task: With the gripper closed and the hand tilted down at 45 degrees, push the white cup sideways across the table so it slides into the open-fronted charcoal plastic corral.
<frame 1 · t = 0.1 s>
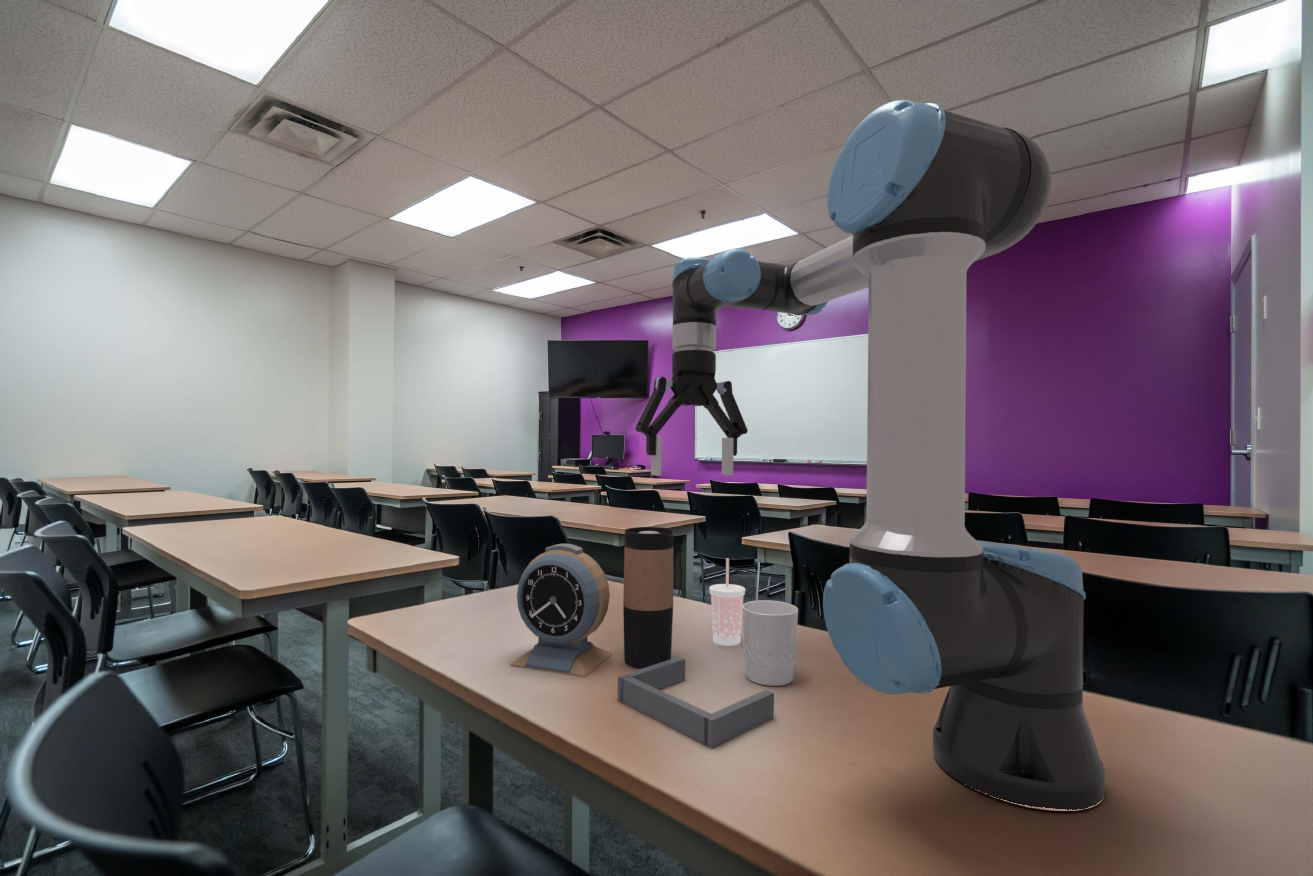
hand: (692, 475, 102), 28 cm above the table, fingers open, 13 cm apart
corral: (702, 704, 76), on the table
alarm clock: (562, 661, 91), on the table
travel mug: (647, 662, 91), on the table
white cup: (769, 678, 85), on the table
beverage cup: (726, 642, 101), on the table
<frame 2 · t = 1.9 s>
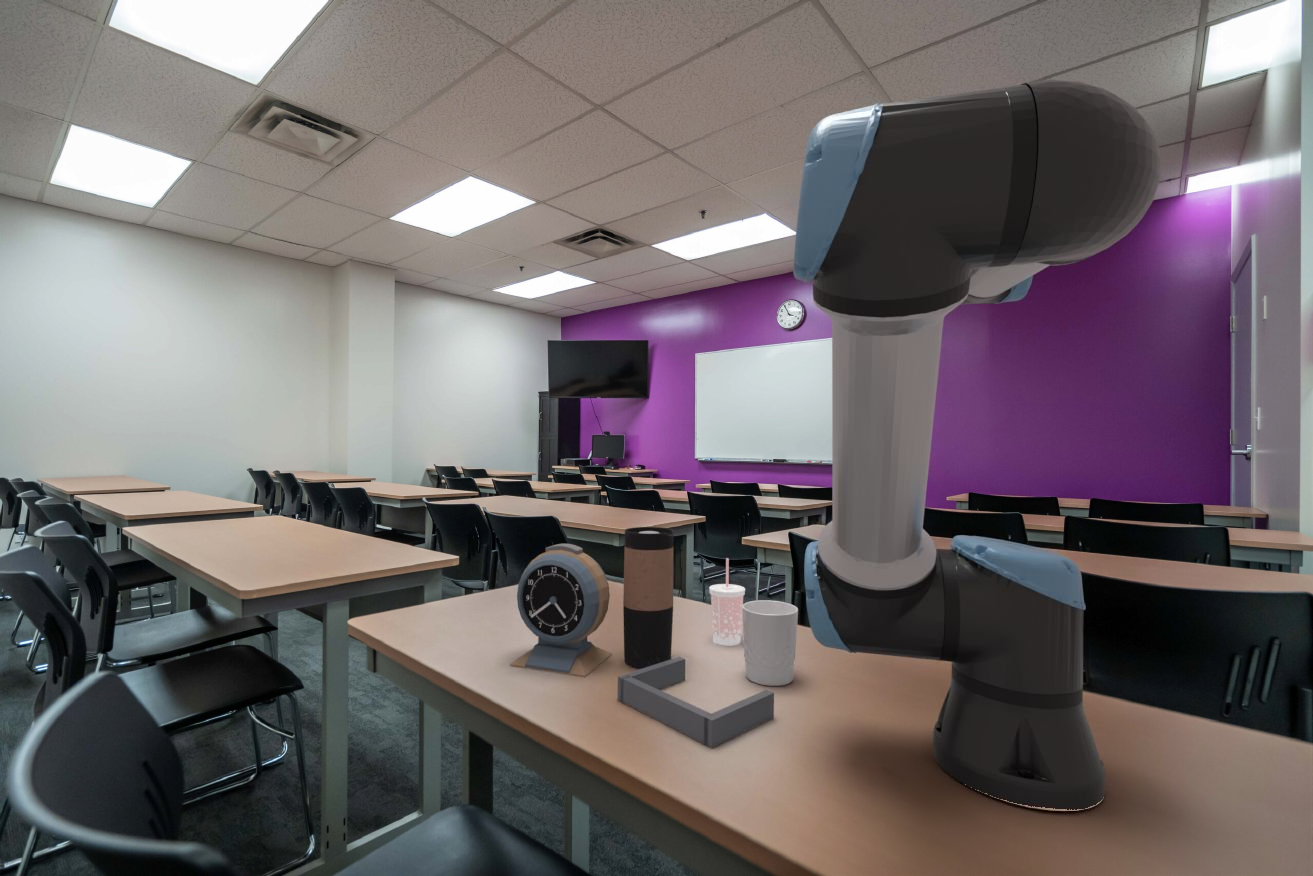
hand: (868, 515, 90), 23 cm above the table, fingers open, 6 cm apart
nothing on the table moved.
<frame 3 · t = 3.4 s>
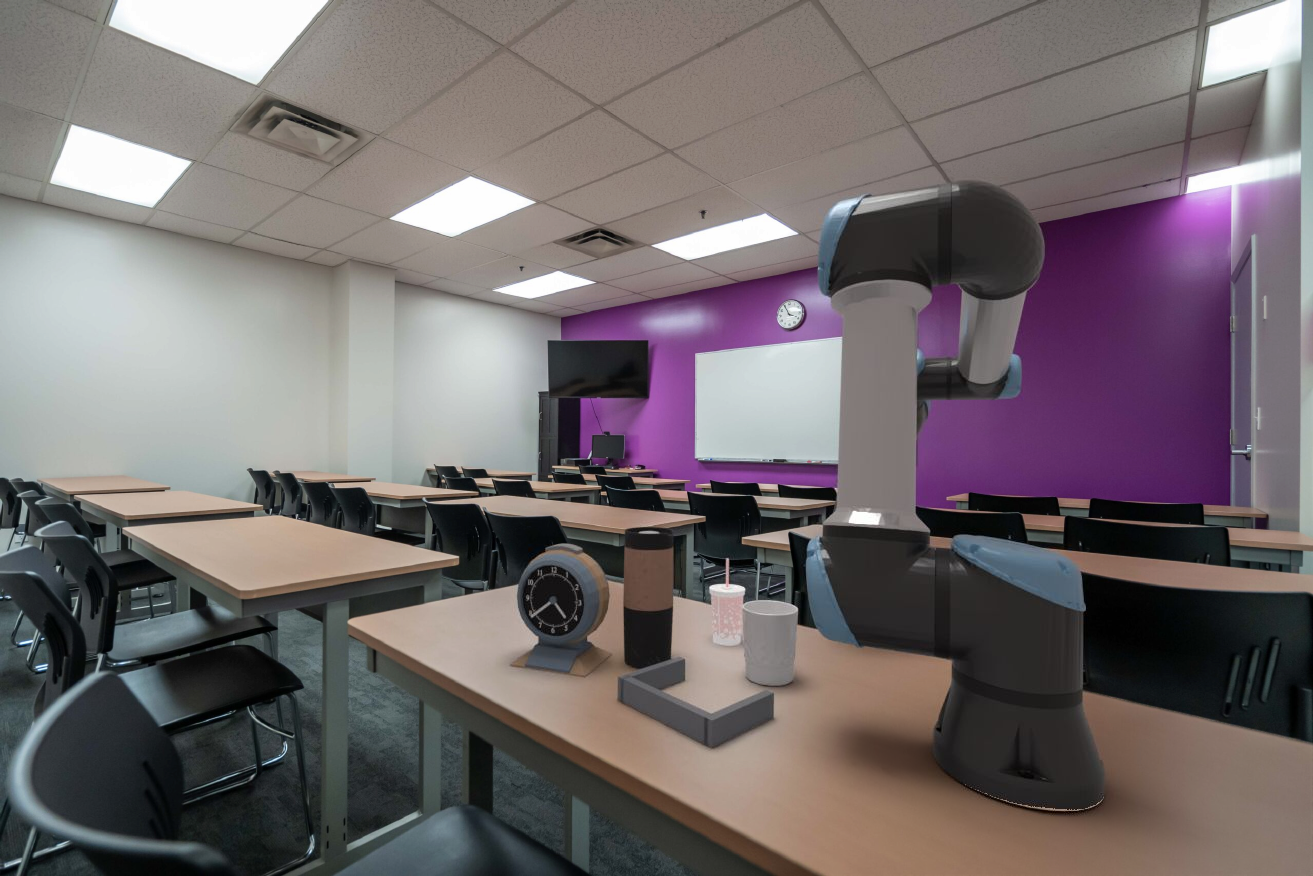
hand: (837, 559, 98), 15 cm above the table, fingers closed
nothing on the table moved.
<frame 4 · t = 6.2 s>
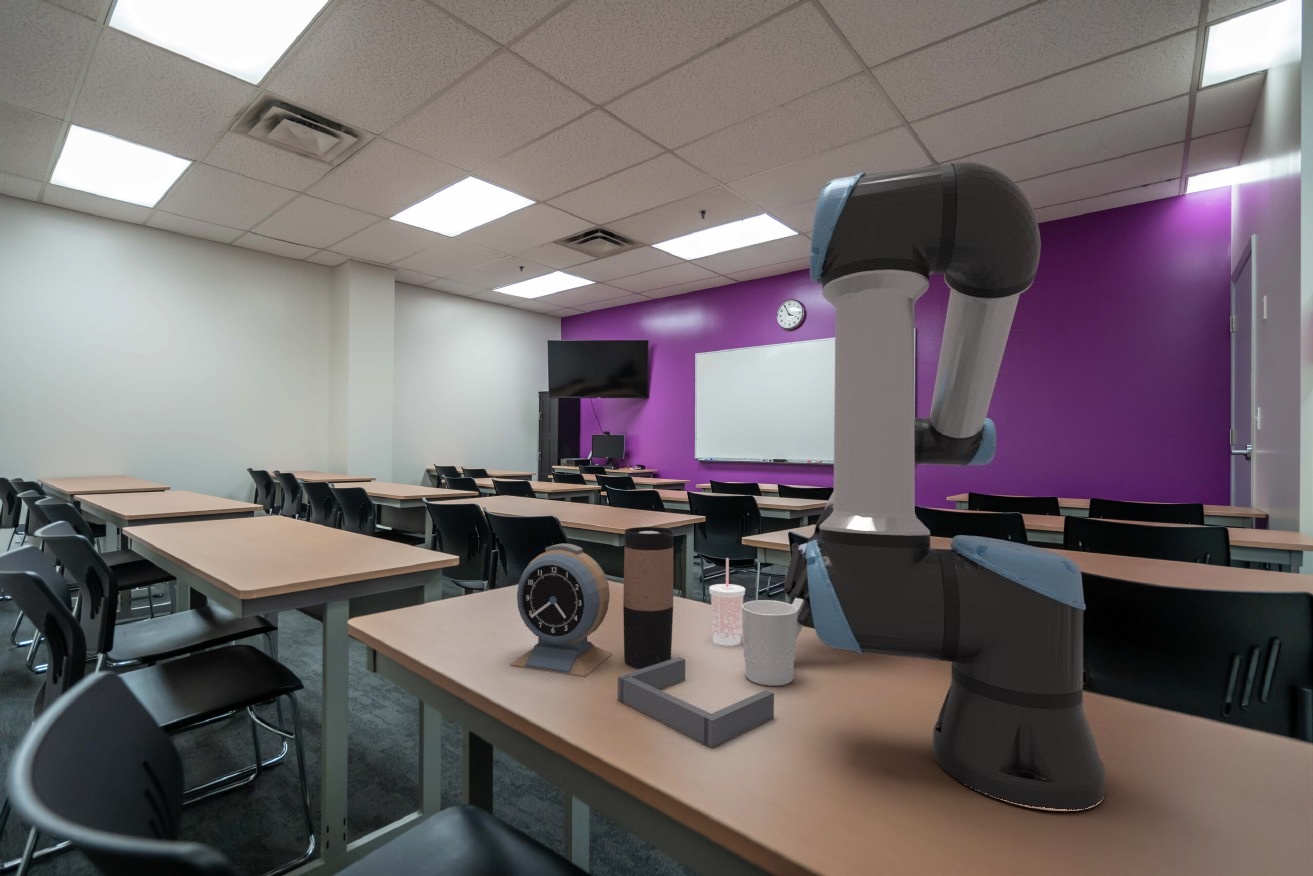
hand: (785, 639, 89), 4 cm above the table, fingers closed
white cup: (768, 678, 85), on the table, touching gripper
everything else where it was.
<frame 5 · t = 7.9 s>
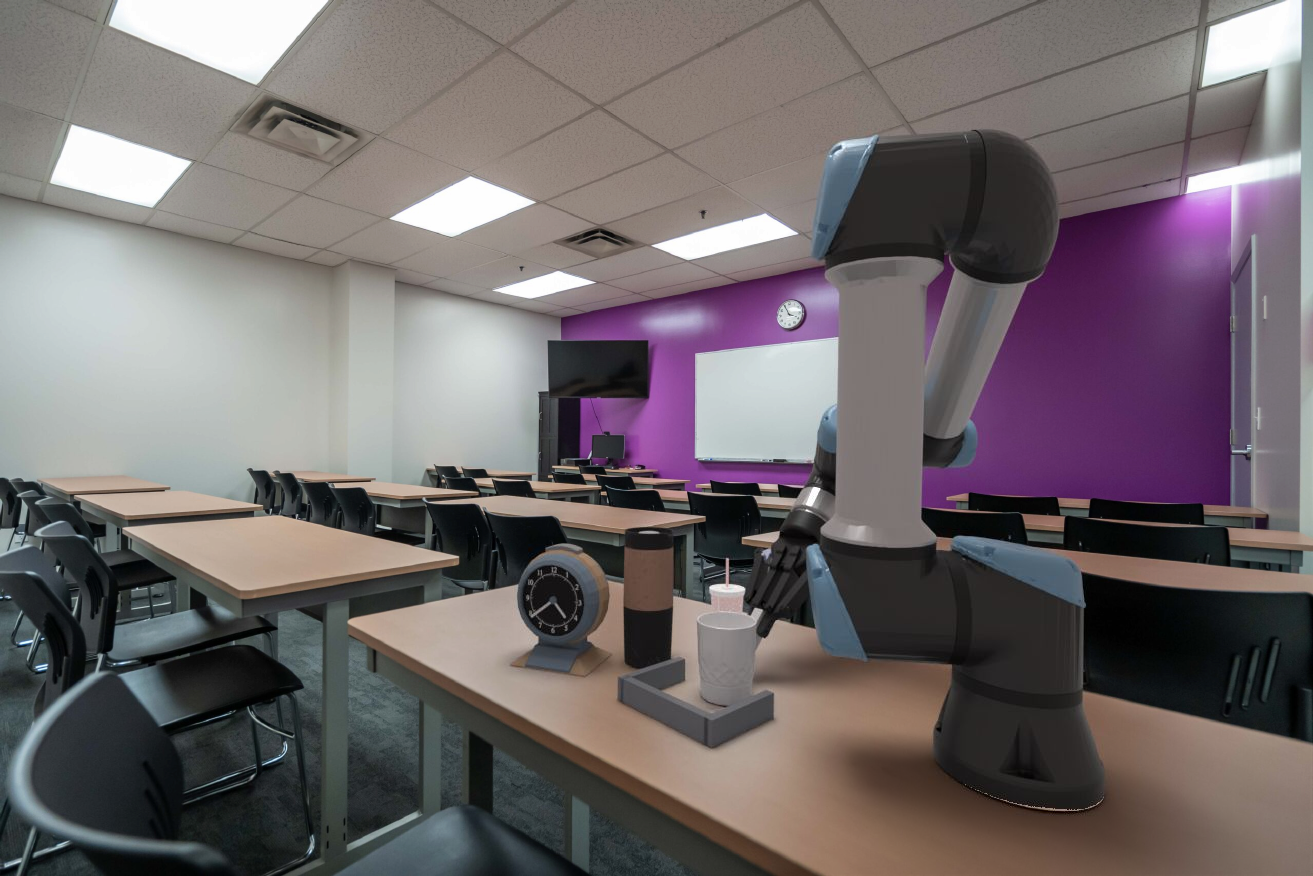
hand: (742, 653, 83), 4 cm above the table, fingers closed
white cup: (726, 697, 79), on the table, touching gripper
everything else where it was.
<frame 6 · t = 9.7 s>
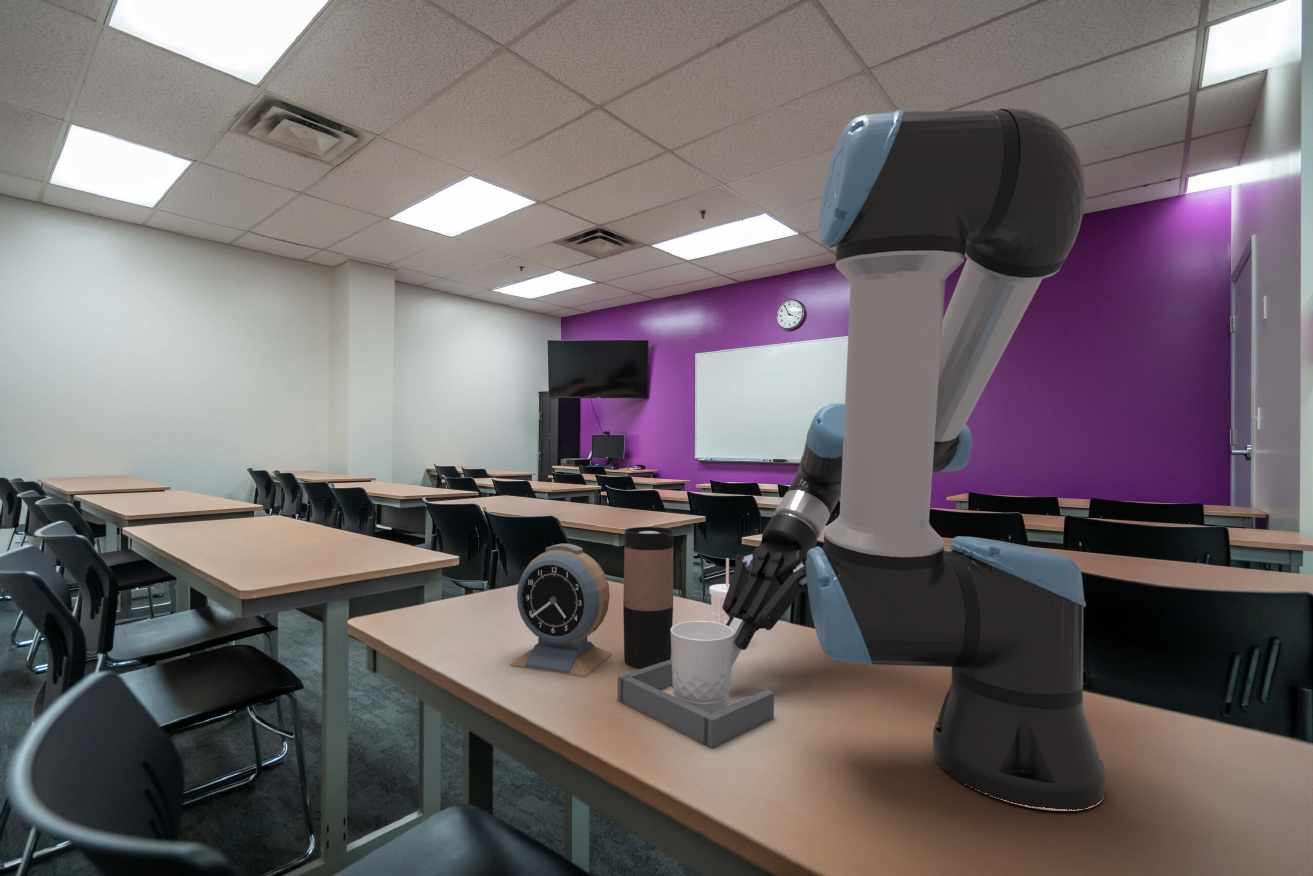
hand: (720, 666, 78), 4 cm above the table, fingers closed
white cup: (701, 712, 74), on the table, touching gripper
everything else where it was.
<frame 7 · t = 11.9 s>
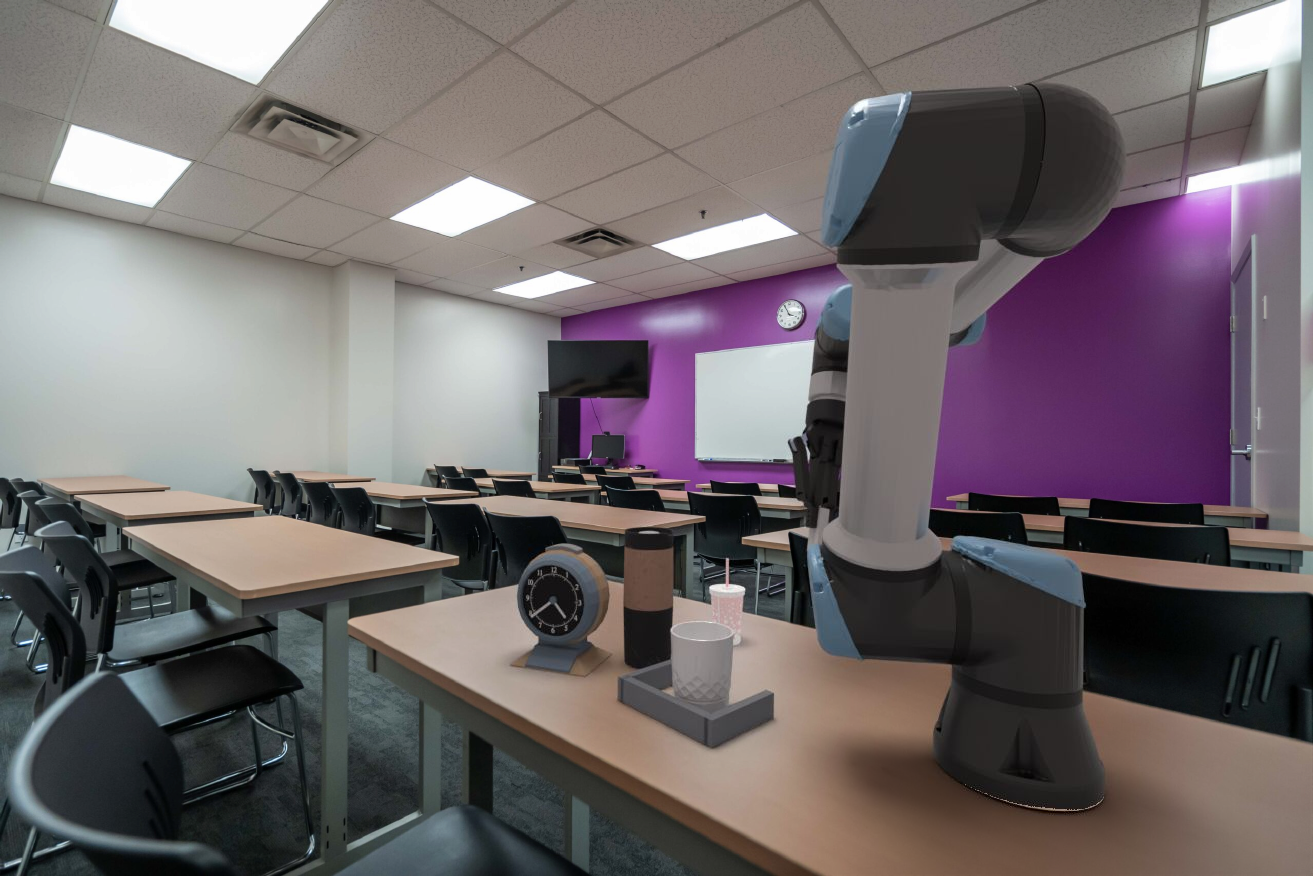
hand: (816, 551, 90), 17 cm above the table, fingers closed
white cup: (701, 712, 74), on the table
everything else where it was.
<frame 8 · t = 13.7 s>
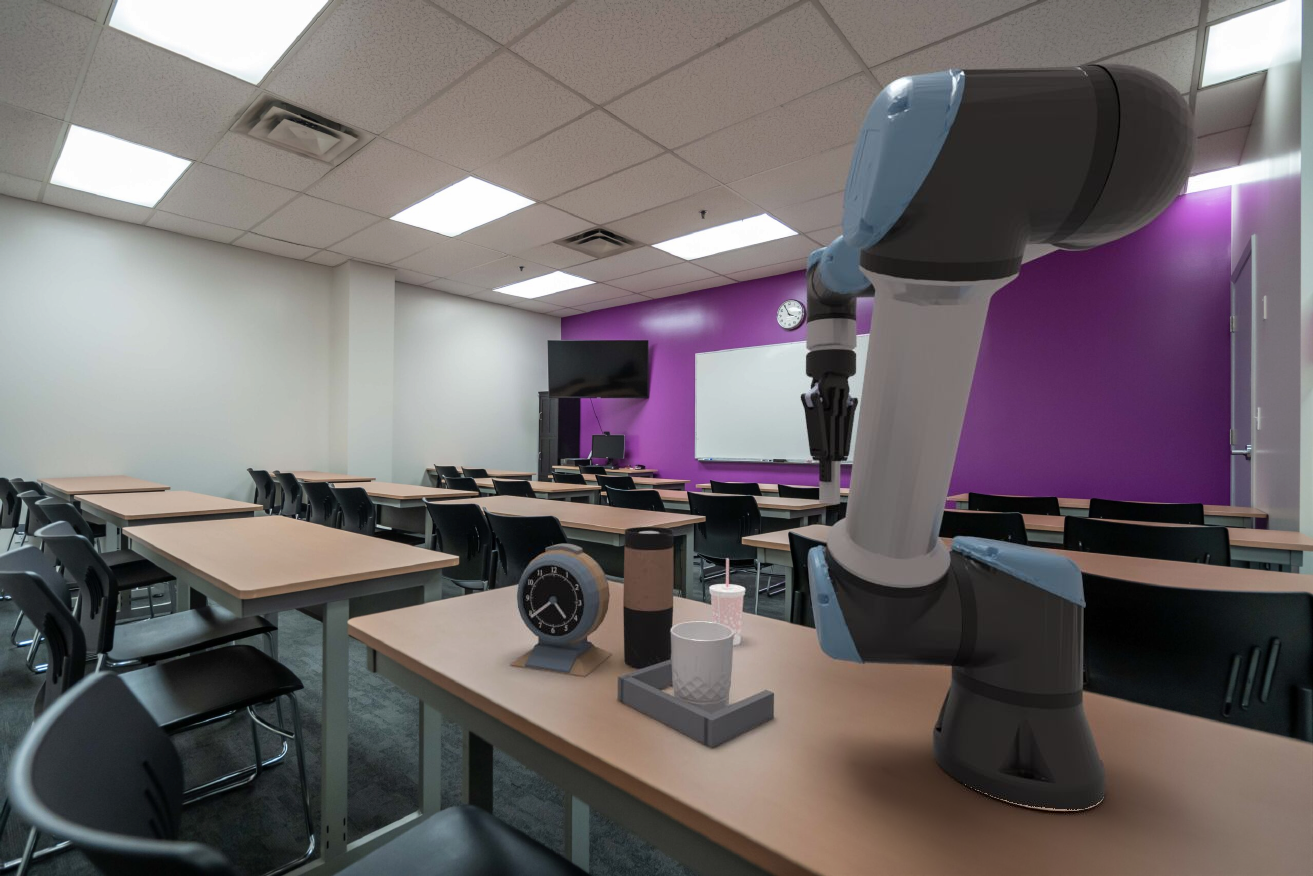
hand: (829, 503, 92), 24 cm above the table, fingers closed
nothing on the table moved.
at the end: white cup inside the target area on the corral (1.2 cm from its centre), point 0.0 cm above the corral's base; white cup tilted 0°; white cup touching table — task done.
